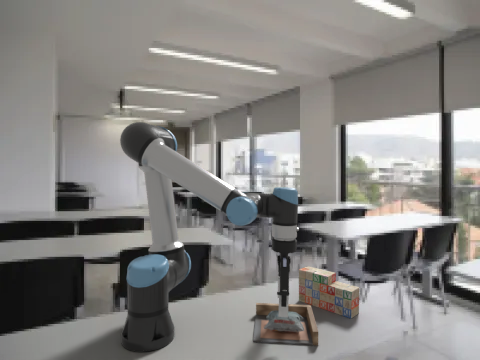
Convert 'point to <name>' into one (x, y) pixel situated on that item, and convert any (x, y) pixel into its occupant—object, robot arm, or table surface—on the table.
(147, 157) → the robot arm
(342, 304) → the stack of blocks
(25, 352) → the table surface
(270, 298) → the table surface
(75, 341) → the table surface
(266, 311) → the corner arena
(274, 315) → the packaged food
